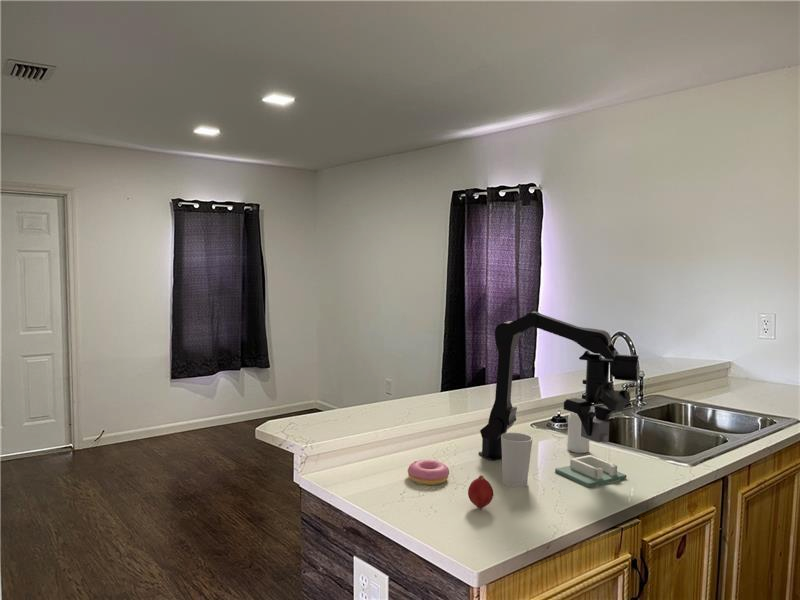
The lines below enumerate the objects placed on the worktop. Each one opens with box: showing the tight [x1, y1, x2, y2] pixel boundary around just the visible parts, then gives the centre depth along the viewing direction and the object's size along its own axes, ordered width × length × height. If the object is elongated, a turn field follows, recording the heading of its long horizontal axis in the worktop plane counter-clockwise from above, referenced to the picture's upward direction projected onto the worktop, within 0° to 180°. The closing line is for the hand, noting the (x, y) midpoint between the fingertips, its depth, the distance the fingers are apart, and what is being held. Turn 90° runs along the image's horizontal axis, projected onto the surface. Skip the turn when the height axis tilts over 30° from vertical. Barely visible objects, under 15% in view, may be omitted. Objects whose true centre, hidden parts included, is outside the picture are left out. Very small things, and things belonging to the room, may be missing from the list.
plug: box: [581, 416, 610, 444], centre depth 159 cm, size 4×7×5 cm, turn 29°
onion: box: [467, 474, 494, 510], centre depth 136 cm, size 6×6×8 cm
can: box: [566, 411, 590, 454], centre depth 181 cm, size 6×6×12 cm
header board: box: [554, 454, 627, 488], centre depth 160 cm, size 14×12×4 cm
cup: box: [501, 432, 533, 488], centre depth 153 cm, size 8×8×12 cm
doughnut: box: [407, 459, 450, 486], centre depth 154 cm, size 11×11×4 cm
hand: (594, 434), depth 160 cm, fingers closed on plug, 4 cm apart
